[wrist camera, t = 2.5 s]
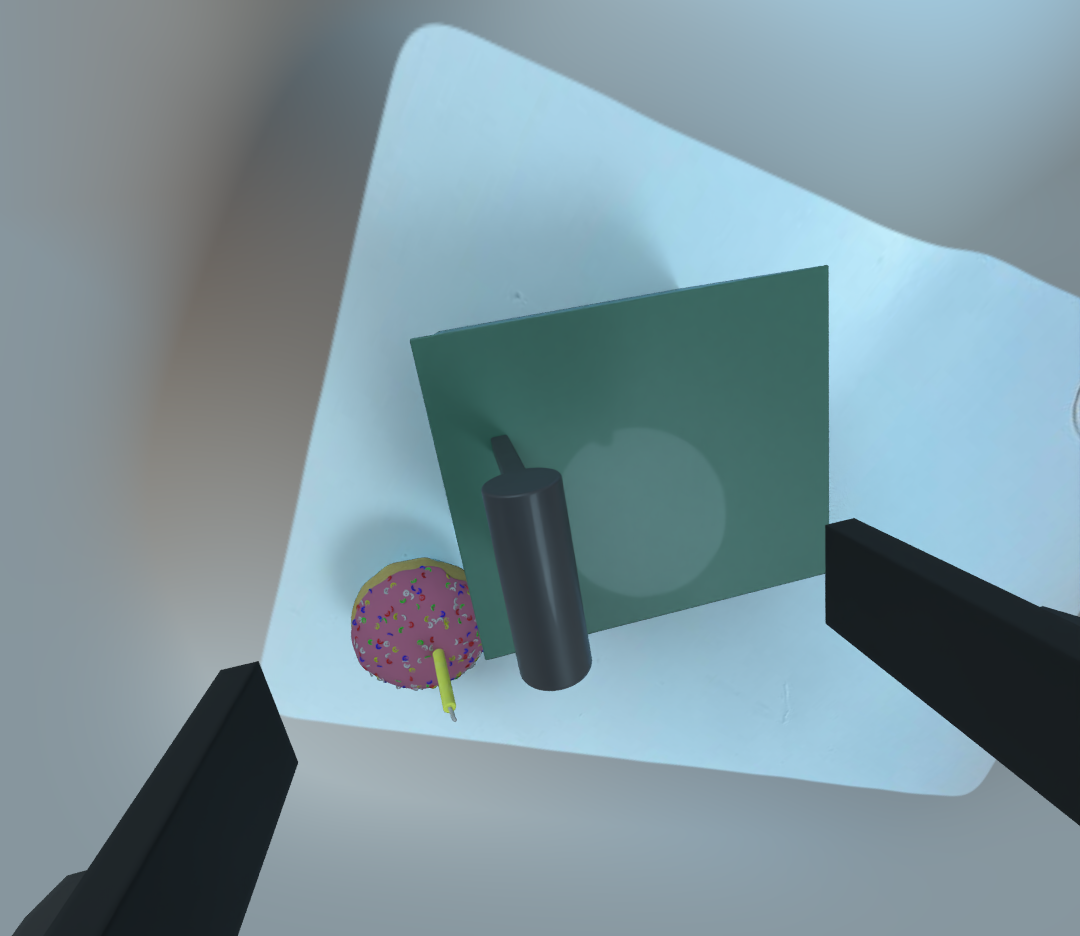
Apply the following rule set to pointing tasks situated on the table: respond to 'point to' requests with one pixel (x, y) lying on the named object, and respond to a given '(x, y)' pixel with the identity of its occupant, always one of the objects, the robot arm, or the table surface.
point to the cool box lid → (632, 459)
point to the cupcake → (417, 626)
